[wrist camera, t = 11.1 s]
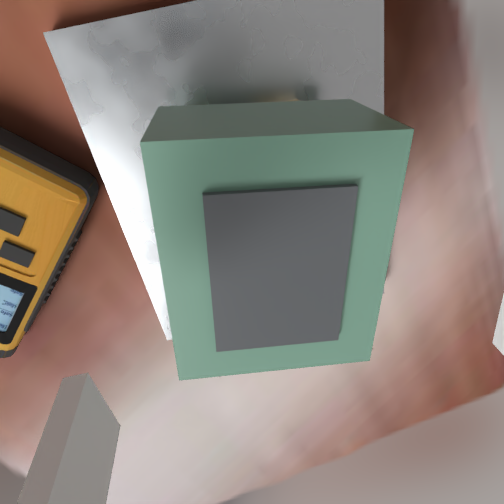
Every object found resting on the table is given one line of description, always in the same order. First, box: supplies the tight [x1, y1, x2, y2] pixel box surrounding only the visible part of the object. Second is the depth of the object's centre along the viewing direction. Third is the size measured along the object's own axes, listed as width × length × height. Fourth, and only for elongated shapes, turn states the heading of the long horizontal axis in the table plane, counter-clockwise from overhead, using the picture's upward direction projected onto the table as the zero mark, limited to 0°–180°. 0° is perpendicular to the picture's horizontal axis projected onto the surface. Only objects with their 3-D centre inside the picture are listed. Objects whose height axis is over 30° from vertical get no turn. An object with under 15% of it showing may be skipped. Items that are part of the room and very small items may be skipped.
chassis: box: [43, 0, 384, 340], centre depth 25 cm, size 22×18×4 cm
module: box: [140, 99, 414, 380], centre depth 20 cm, size 12×10×7 cm
